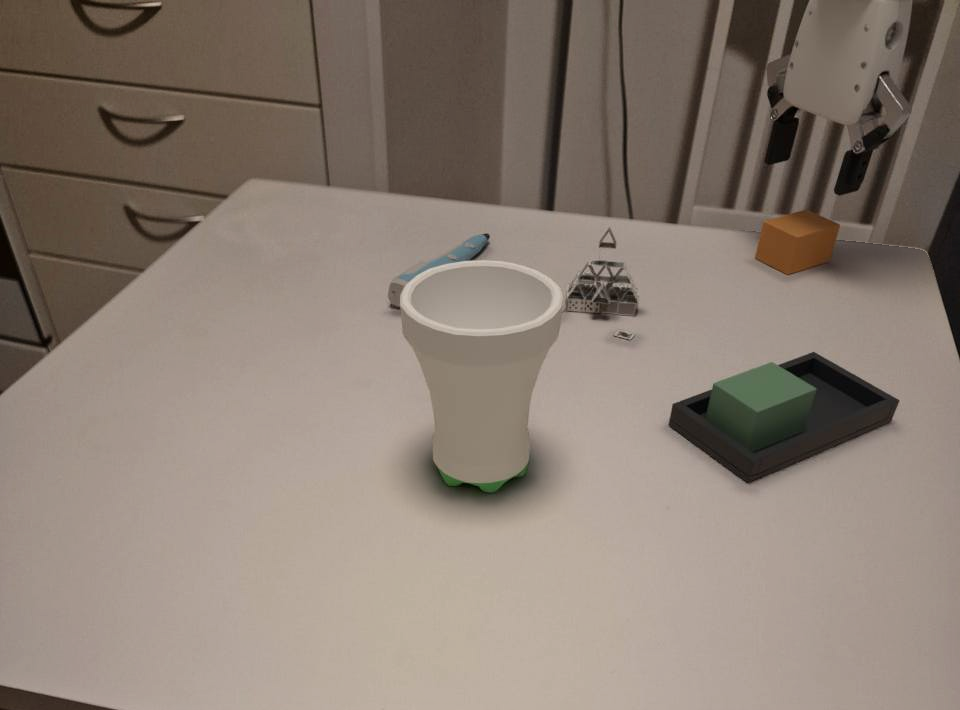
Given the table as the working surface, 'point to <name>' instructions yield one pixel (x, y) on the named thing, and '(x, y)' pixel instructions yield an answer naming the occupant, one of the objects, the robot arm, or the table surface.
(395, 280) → the blue elongated piece
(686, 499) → the table surface
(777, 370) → the green block
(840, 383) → the tray
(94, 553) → the table surface
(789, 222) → the block orange
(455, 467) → the cup
